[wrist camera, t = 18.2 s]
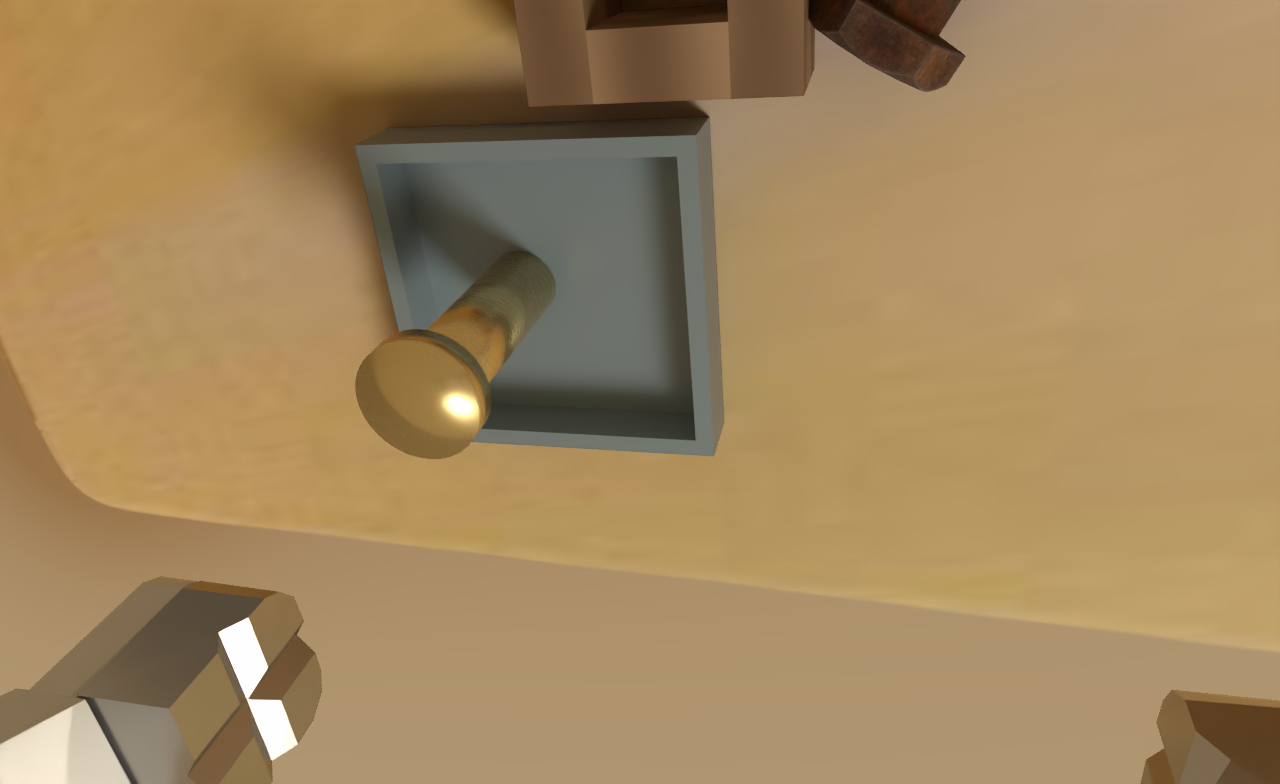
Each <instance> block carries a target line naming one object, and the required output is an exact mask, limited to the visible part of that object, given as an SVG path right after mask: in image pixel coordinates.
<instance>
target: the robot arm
mask: <svg viewBox="0 0 1280 784" xmlns="http://www.w3.org/2000/svg"><path fill="white" fill-rule="evenodd" d="M303 622H304V620H303V617H302V615H301V613H300V610H299V608H298V605H297V603H296V601H295V598H294V596H290V595H287V594H284V593H281V592H276V591H269V590H262V589H255V588H248V587H240V586H233V585H226V584H219V583H211V582H205V581H199V582H198V581H190V580H184V579H177V578H169V577H163V576H161V577H158V578H155V579H152V580H149V581H147V582H144V583H142V584H141V585H140V586H139V587H138V588H137V589H136V590H135V591H134V592H132V594H130V595H129V596H128V597H127V598H126V599H125V600H124V601H123V602H122V603H121V604H120V605H119V606H118V607H116V608H115V610H113V612H111V613H110V614H109V615H108V616H107V617H106V618H105V619H104V620H103V621H102V622H101V623H100V624H99V625H97V626H96V627H95V628H94V629H93V630H92V631H91V632H90V633H89V634H88V635H87V636H86V637H85V638H84V639H83V640H81V641H80V643H78V644H77V645H76V646H75V647H74V648H73V649H72V650H71V651H70V652H69V653H68V654H67V655H66V656H64V657H63V658H62V659H61V660H60V661H59V662H58V663H57V664H56V665H55V666H54V667H53V668H52V669H51V670H50V671H49V672H48V673H46V674H45V675H44V677H42V678H41V679H40V680H39V681H38V682H37V683H36V684H35V685H34V686H33V687H32V688H31V689H29V690H24V689H14V690H12V691H10V692H8V693H6V694H4V695H2V696H0V784H271V783H272V781H273V780H272V760H273V759H275V758H276V757H278V756H280V755H281V754H283V753H284V752H286V751H288V750H289V749H291V748H292V747H294V746H296V745H297V744H298V743H299V741H300V740H301V738H302V737H303V735H304V734H305V732H306V730H307V729H308V727H309V726H310V724H311V723H312V721H313V719H314V716H315V713H316V709H317V706H318V702H319V699H320V696H321V692H322V685H321V669H320V666H319V663H318V660H317V657H316V654H315V652H314V651H313V650H312V649H311V648H310V647H309V646H308V645H307V644H306V643H305V642H303V641H302V640H301V639H300V638H299V637H298V636H297V633H298V631H299V629H300V627H301V625H302V624H303ZM1157 725H1158V729H1159V732H1160V735H1161V738H1162V742H1163V745H1164V749H1162V750H1161V751H1159V752H1157V753H1156V754H1155V755H1153V756H1151V757H1149V758H1148V759H1147V760H1146V763H1145V767H1144V772H1143V776H1142V780H1141V784H1280V701H1277V700H1267V699H1257V698H1248V697H1238V696H1228V695H1217V694H1208V693H1198V692H1188V691H1179V690H1171V691H1170V693H1169V694H1168V695H1167V696H1166V698H1165V699H1164V700H1163V703H1162V706H1161V709H1160V713H1159V716H1158V719H1157Z"/></svg>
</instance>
